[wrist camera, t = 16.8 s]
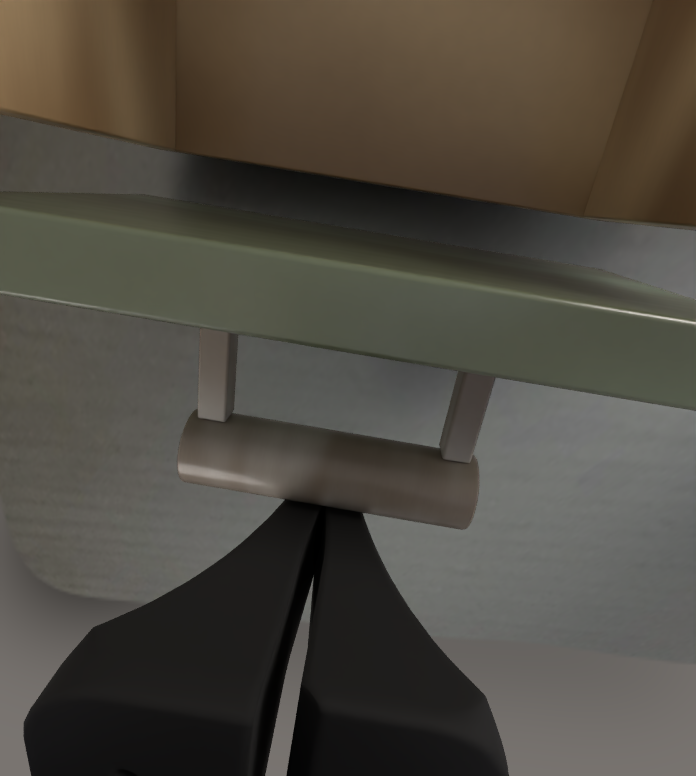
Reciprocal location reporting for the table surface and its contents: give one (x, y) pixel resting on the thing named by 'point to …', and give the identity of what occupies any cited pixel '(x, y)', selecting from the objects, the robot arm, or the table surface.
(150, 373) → the table surface
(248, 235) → the drawer
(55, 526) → the table surface
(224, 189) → the table surface
